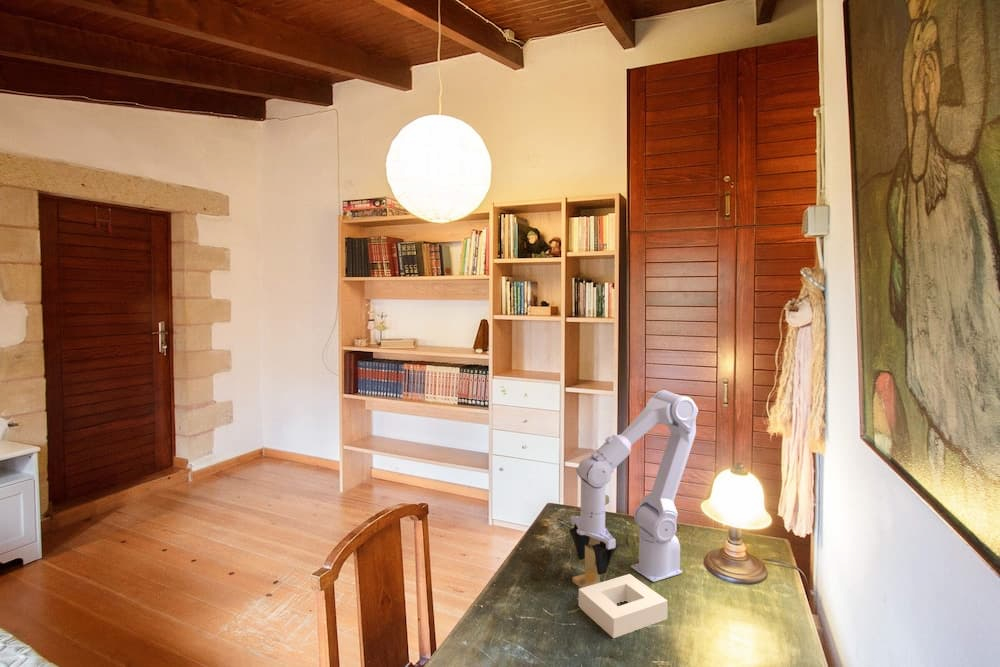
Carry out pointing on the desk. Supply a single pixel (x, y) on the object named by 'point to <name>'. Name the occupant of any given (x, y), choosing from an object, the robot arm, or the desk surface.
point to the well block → (625, 618)
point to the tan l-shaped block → (588, 570)
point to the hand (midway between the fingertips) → (592, 565)
